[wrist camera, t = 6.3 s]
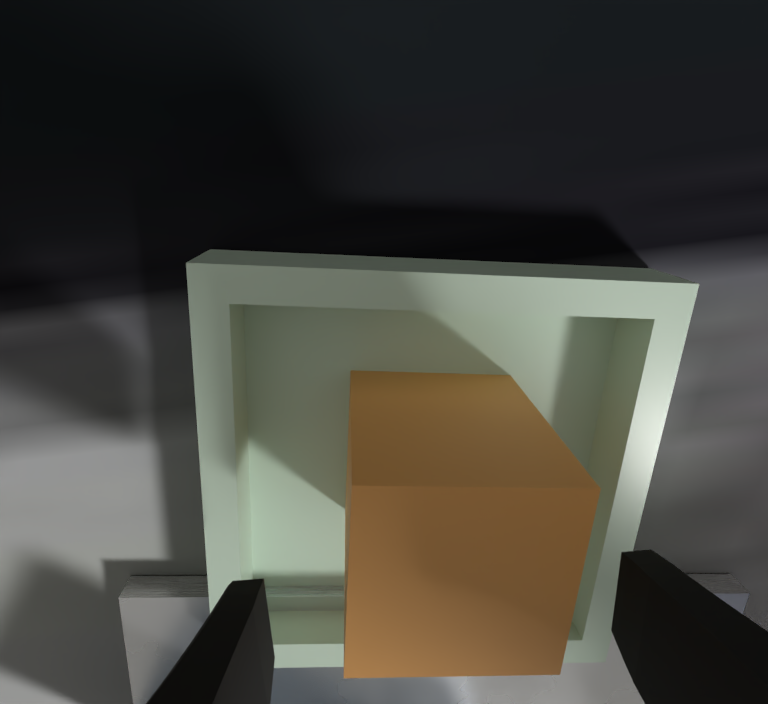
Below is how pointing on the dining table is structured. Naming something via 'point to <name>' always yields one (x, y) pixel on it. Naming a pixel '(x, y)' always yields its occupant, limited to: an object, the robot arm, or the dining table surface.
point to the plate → (327, 684)
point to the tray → (413, 354)
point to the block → (458, 529)
